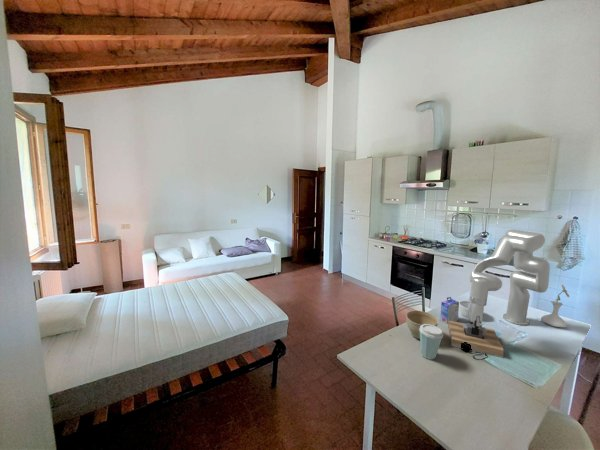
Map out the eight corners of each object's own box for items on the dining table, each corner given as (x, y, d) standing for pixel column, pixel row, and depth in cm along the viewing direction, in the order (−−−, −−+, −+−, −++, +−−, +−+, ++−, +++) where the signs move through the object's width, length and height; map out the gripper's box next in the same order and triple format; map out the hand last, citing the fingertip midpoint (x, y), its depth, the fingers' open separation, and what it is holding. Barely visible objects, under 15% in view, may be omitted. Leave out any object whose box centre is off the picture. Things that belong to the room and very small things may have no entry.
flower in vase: (561, 331, 151) (569, 290, 147) (537, 321, 161) (543, 283, 157) (570, 325, 157) (578, 286, 153) (546, 317, 167) (553, 280, 163)
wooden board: (448, 326, 155) (448, 320, 154) (492, 336, 146) (493, 329, 145) (451, 345, 137) (452, 338, 136) (502, 357, 128) (503, 350, 127)
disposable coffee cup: (421, 346, 137) (424, 319, 134) (444, 355, 129) (447, 328, 126) (413, 355, 129) (415, 327, 127) (436, 366, 122) (439, 337, 119)
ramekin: (487, 320, 162) (488, 310, 161) (465, 320, 162) (467, 310, 161) (473, 310, 175) (474, 300, 174) (453, 310, 175) (454, 300, 174)
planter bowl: (398, 330, 151) (400, 312, 149) (421, 325, 156) (422, 308, 154) (419, 346, 136) (420, 327, 134) (443, 341, 141) (445, 322, 139)
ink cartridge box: (449, 316, 167) (452, 295, 165) (458, 320, 162) (460, 298, 160) (439, 319, 163) (441, 297, 161) (447, 323, 158) (449, 301, 156)
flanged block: (461, 330, 145) (462, 321, 144) (484, 334, 141) (485, 326, 140) (462, 334, 141) (463, 326, 140) (486, 339, 136) (487, 331, 136)
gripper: (467, 292, 147) (463, 322, 150) (472, 305, 131) (468, 338, 134) (483, 295, 144) (479, 325, 146) (490, 308, 128) (485, 342, 131)
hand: (473, 331), depth 140 cm, fingers closed on flanged block, 5 cm apart
